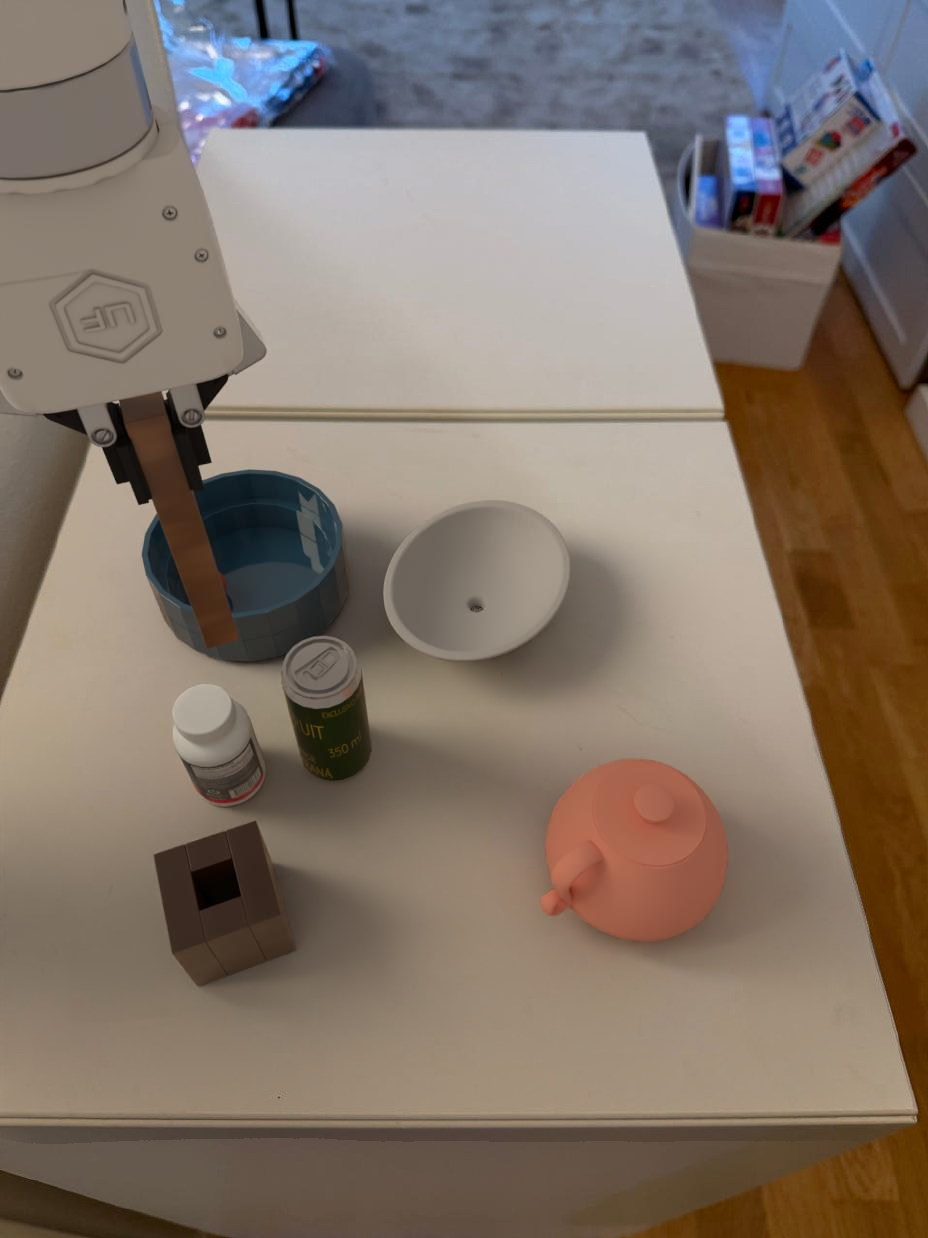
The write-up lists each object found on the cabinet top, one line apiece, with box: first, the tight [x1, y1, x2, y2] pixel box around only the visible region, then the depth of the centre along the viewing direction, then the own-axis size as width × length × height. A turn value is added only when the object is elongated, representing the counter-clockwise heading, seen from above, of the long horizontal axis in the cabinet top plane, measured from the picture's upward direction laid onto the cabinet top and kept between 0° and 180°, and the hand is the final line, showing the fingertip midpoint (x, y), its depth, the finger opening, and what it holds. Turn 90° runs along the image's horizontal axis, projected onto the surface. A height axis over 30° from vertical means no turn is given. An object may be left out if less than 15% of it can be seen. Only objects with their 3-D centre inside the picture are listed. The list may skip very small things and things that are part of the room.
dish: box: [382, 499, 572, 663], centre depth 77 cm, size 18×14×5 cm
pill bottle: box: [171, 683, 267, 808], centre depth 65 cm, size 5×5×10 cm
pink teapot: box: [539, 758, 729, 942], centre depth 61 cm, size 12×14×10 cm
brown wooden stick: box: [118, 391, 239, 649], centre depth 50 cm, size 2×2×18 cm
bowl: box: [141, 468, 350, 662], centre depth 77 cm, size 16×16×6 cm
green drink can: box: [280, 635, 373, 783], centre depth 66 cm, size 5×5×12 cm
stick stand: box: [152, 820, 297, 988], centre depth 60 cm, size 7×7×7 cm
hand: (167, 477), depth 47 cm, fingers closed on brown wooden stick, 2 cm apart
